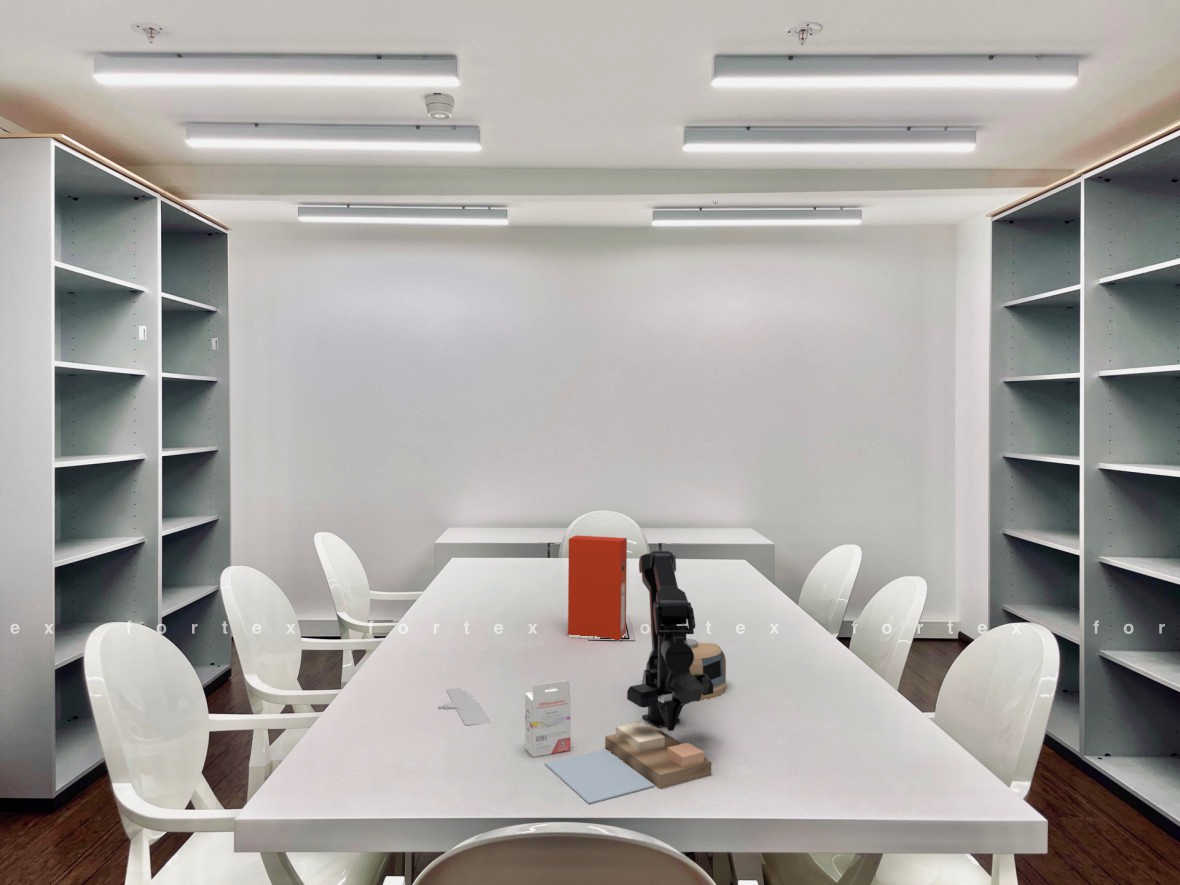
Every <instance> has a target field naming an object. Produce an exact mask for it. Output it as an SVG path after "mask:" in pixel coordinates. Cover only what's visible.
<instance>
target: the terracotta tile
mask: <svg viewBox="0 0 1180 885" xmlns="http://www.w3.org/2000/svg"><path fill="white" fill-rule="evenodd" d="M704 757H705V752H704V751H703V750H701V749H700V748H698V747H696V746H694V745H693V744H691V743H690V742H685V743H682V744H680V745H676V746H671V747H667V758H669V759H670V760H672V761H673V762H675V763H676V764H678V765H679V766H681V767H682V768H684V767H687V766H691V765H695V764H699V763H703V762H704Z"/></svg>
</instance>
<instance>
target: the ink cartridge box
mask: <svg viewBox="0 0 1180 885" xmlns="http://www.w3.org/2000/svg"><path fill="white" fill-rule="evenodd" d="M550 688H553V689H550ZM524 749H525V750H526V751H527V753H529V755H530V756H531V757H532V758H535V757H536V758H537V757H541V756H542V755H543V756H547V755H552V754H553V753H554V754H559V753H564V752H563V751H565V752H569V751H571V695H570V681H569V680H568V679H567V680H561V681H559V680H557V681H551V682H550V681H549V682H544V683H537V684H532V692H525V693H524ZM568 750H569V751H568ZM558 752H559V753H558ZM554 754H553V755H554Z"/></svg>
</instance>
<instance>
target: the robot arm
mask: <svg viewBox="0 0 1180 885" xmlns="http://www.w3.org/2000/svg"><path fill="white" fill-rule="evenodd" d="M638 572H639V573H640V574H641V581H642V583H643V584H644V586H645V588H646V589H647V590H648V592H649V593H648V594H649V612H650V631H651V632H650V636H651V651H652V654H651V656H650V658H649V657H648V660H647V662H646V664H645V665H646V666H645V669H644V670H643V675H642V680H641V683H640V684H634V685H630V686H629V688H628V689H627V692H626V695H627V696H626V697H627V698H626V699H627V701H629V702H631V703H633V704H635V705H637V707H640V708H645V709H646V708H647V714H643V715H642V719H643V720H645V721H646V722H647V723H650V724H652V726H654V727H656V728H660V727H665V726H666V729H667V731H669V732H673V731H674V730H675V728H676V725H677V724H679V723H681V719H680V714H681V712H682V710H683V707H684V706H685V705H686V704H690V703H693V702H701V701H702V700H701V696H702V695H708V694H713V693H714V684H713V682H712V681H711V679H709V677H708V676H707V675H706V674H693V675H692V674H691V673H690V666H691V665H692V663H693V661H694V654H693V651H692V649H691V648H690V646H689V644H688V643H687V640H686V638H687V635H694V634H695V631H694V629H696V619H695V613H694V608H693V607H692V604H691V602H689V601H688V597H687V594H686V592H685V591H683V590H682V589H680V587H679V586H678V582H677V578H676V572H677V560H676V555H675V554H673V552H672V551H669V550H653V551H651V552H650V553H644V554H642V555H641V556H640V557H639V560H638Z"/></svg>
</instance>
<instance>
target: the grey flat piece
mask: <svg viewBox="0 0 1180 885" xmlns="http://www.w3.org/2000/svg"><path fill="white" fill-rule="evenodd" d="M459 688H460V689H459ZM461 688H462V687H457V688H455V687H454V688H447V689H446V693H447V694H448V696H449V698H450V700H451V702H447V703H444V704H443V705H438V707H437V708H438V710H445V711H446V710H447V711H448V710H456V711H457V712H458V714H459V716H460V719H461V720H462V722H463V724H464V725H465V726H473V725H474V726H475V725H483V724H491V723H492V721H491V720H490V717H488V714H487V713H486V711H485V710H484V709H483V707H482V705H481V704H480V702H479V701H478V700H477V702H475V701H476V700H475V699H473V698H472V697H474V696H475V695H474V696H472V695H471V692H472V691H471V692H470V693H468V692H467V691H466V690H464V691H463V690H462V689H461ZM467 693H468V694H470V695H471V696H472V697H471V696H470V695H468V694H467ZM474 698H476V696H475V697H474Z"/></svg>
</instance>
